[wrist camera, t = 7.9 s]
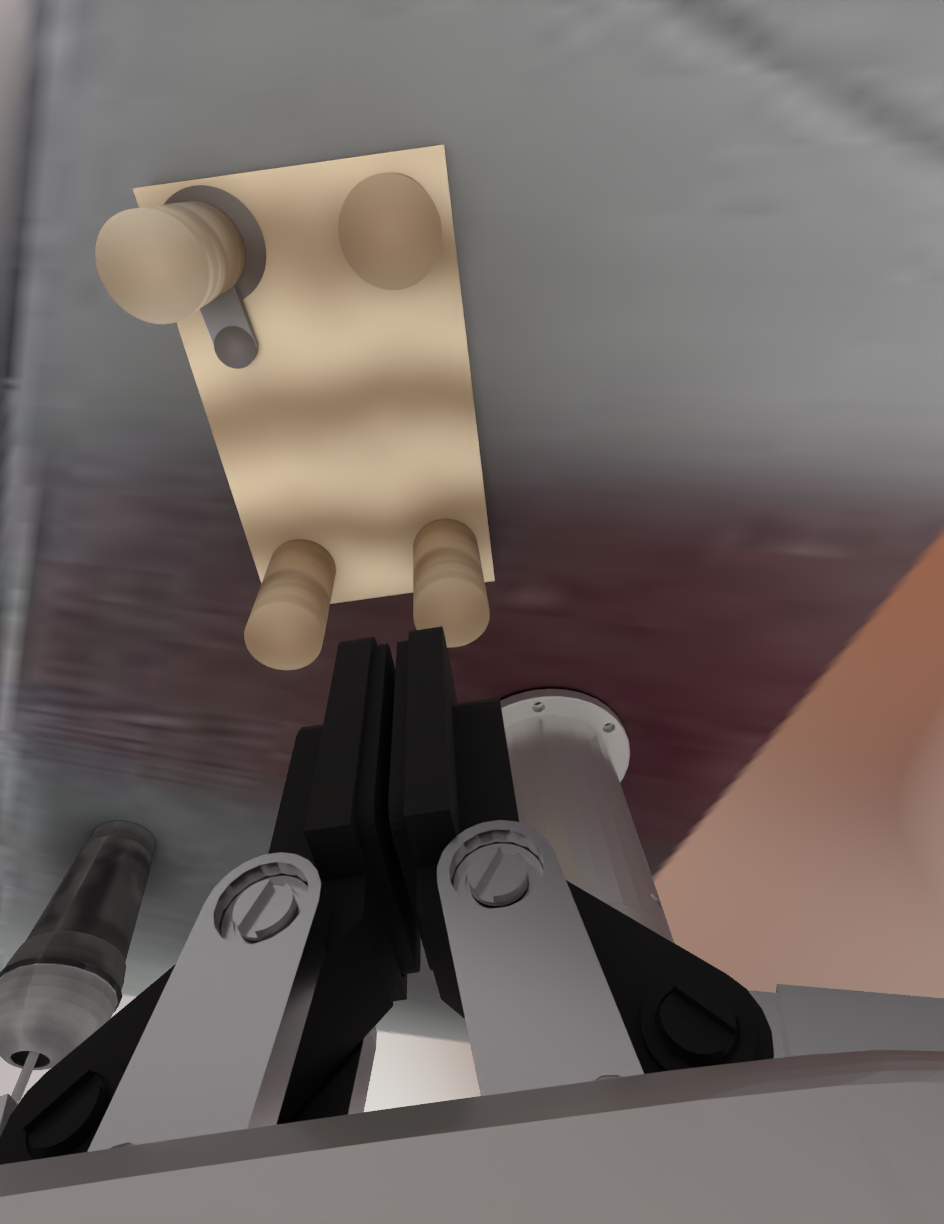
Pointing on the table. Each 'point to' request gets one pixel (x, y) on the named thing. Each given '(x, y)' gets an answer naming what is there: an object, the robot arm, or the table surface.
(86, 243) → the table surface
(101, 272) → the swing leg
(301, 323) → the stool seat
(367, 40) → the table surface
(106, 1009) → the beverage cup
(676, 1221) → the robot arm
